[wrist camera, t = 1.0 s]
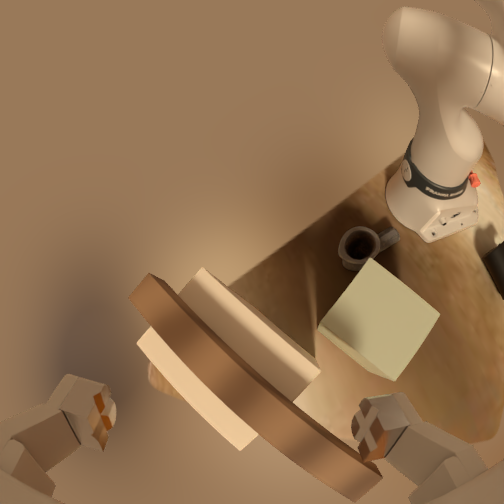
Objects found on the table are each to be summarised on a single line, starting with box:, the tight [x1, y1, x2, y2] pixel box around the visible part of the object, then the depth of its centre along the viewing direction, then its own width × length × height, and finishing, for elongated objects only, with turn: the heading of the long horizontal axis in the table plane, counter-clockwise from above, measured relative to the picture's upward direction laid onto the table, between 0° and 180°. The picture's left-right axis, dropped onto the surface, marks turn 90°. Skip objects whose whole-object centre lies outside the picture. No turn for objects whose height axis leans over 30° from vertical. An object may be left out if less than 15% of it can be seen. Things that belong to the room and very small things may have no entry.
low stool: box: [317, 258, 440, 381], centre depth 38 cm, size 12×10×16 cm
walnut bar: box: [128, 273, 383, 502], centre depth 20 cm, size 26×3×3 cm, turn 48°
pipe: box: [338, 226, 400, 271], centre depth 46 cm, size 6×13×8 cm, turn 115°
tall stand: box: [137, 267, 321, 451], centre depth 35 cm, size 14×10×26 cm
